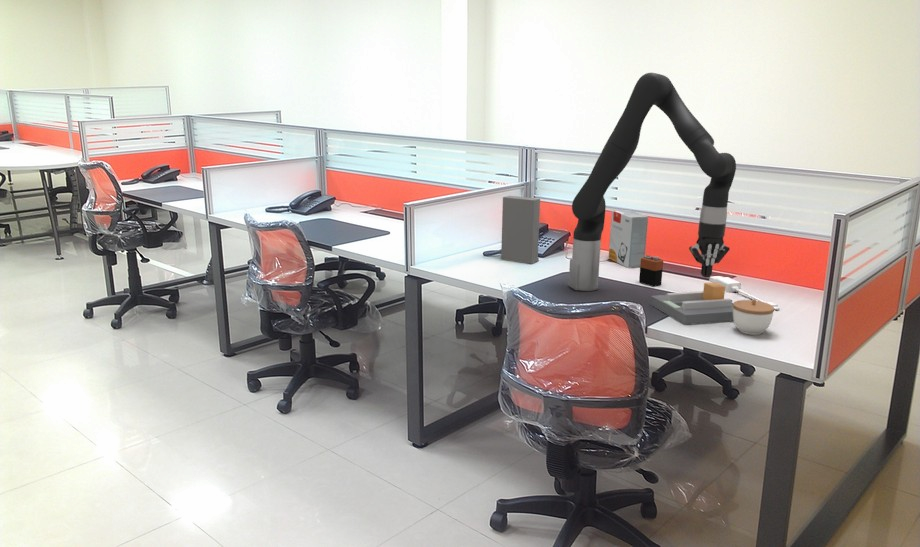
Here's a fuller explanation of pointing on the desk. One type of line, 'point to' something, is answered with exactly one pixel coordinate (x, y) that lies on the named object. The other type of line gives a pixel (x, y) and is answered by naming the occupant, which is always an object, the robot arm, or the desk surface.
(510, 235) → the tall grey upright block
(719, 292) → the handle
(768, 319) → the lidded jar
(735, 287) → the charging cable
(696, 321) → the tray
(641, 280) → the battery
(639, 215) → the hard drive box
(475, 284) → the desk surface
